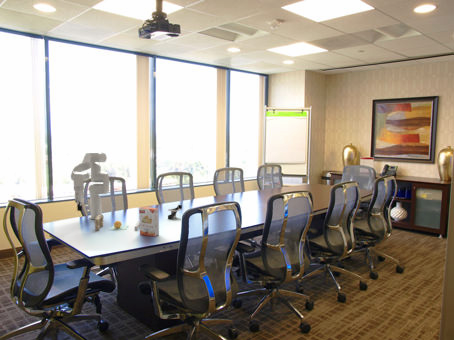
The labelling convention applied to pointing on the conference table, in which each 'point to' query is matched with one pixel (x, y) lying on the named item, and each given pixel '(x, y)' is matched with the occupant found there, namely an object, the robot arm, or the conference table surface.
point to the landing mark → (119, 228)
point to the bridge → (98, 222)
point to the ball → (117, 224)
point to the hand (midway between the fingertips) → (79, 210)
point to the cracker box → (149, 221)
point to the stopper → (137, 225)
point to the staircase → (174, 211)
